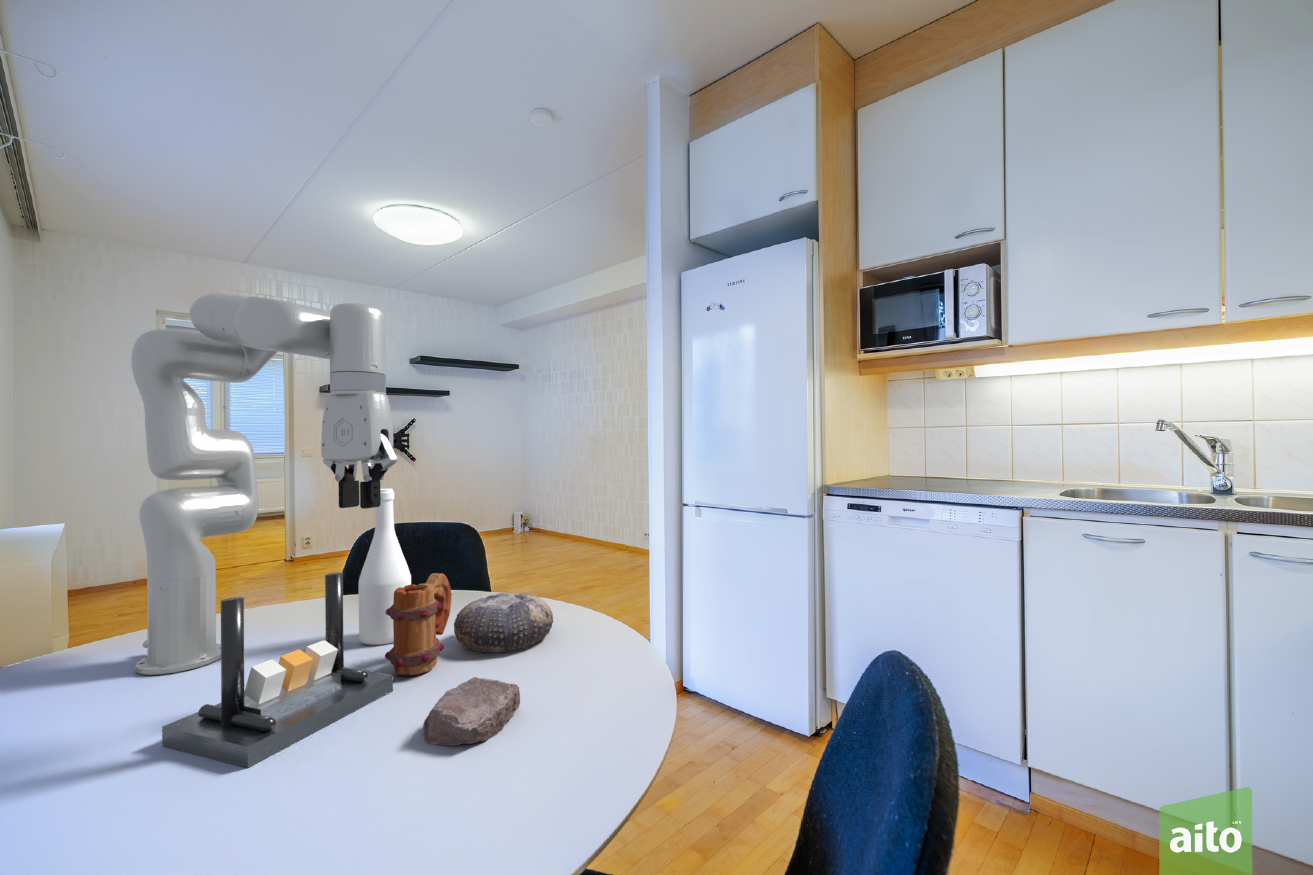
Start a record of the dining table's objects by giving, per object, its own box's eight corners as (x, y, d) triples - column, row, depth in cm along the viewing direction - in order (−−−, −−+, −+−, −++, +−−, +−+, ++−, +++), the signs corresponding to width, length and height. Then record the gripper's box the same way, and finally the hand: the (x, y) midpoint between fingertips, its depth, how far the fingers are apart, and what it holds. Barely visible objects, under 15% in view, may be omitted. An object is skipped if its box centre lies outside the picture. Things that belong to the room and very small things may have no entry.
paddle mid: (273, 681, 78) (280, 656, 78) (292, 673, 81) (299, 649, 81) (287, 691, 77) (295, 666, 77) (306, 683, 80) (313, 658, 80)
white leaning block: (300, 670, 82) (307, 646, 82) (317, 663, 85) (324, 639, 84) (313, 680, 81) (321, 655, 81) (330, 672, 84) (338, 649, 83)
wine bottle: (381, 629, 118) (379, 487, 118) (421, 631, 116) (419, 487, 116) (347, 645, 108) (346, 491, 109) (390, 647, 106) (389, 490, 107)
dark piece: (162, 746, 72) (161, 601, 72) (317, 678, 92) (316, 566, 93) (247, 767, 66) (246, 611, 67) (392, 690, 87) (391, 572, 87)
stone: (476, 754, 68) (475, 716, 69) (416, 745, 71) (415, 708, 71) (526, 711, 80) (525, 678, 80) (472, 704, 82) (472, 672, 82)
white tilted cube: (243, 693, 75) (251, 666, 74) (264, 684, 77) (272, 659, 77) (258, 704, 74) (266, 677, 73) (279, 695, 76) (286, 669, 76)
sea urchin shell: (545, 654, 100) (534, 599, 100) (443, 674, 100) (432, 620, 100) (563, 620, 119) (554, 574, 119) (477, 637, 119) (468, 591, 119)
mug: (419, 683, 89) (418, 590, 90) (374, 680, 91) (373, 588, 91) (467, 650, 104) (466, 570, 104) (428, 648, 105) (427, 569, 106)
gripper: (296, 387, 84) (297, 509, 84) (380, 381, 78) (382, 511, 78) (339, 392, 91) (340, 504, 91) (420, 386, 85) (421, 505, 85)
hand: (359, 506), depth 84 cm, fingers open, 3 cm apart
